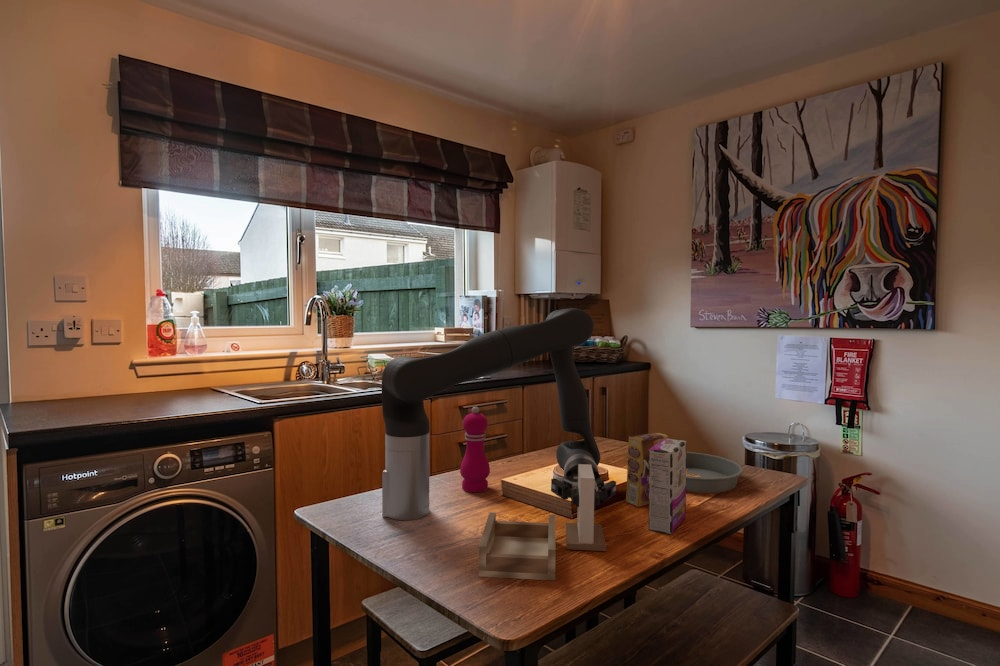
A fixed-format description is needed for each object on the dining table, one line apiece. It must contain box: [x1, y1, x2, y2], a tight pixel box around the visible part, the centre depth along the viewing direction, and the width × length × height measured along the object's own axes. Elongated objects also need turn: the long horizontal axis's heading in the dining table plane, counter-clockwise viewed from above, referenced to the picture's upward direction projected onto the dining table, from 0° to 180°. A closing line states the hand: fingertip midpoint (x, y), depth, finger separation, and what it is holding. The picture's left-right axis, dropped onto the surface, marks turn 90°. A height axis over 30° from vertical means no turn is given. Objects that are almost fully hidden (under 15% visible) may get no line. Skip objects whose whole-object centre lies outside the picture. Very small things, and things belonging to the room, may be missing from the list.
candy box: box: [625, 432, 669, 508], centre depth 127 cm, size 9×4×15 cm, turn 123°
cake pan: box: [686, 451, 745, 494], centre depth 145 cm, size 25×25×4 cm
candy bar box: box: [648, 438, 687, 535], centre depth 114 cm, size 11×5×16 cm, turn 148°
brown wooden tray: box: [478, 511, 557, 581], centre depth 98 cm, size 12×15×5 cm
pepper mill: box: [459, 406, 491, 493], centre depth 136 cm, size 7×7×20 cm
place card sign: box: [565, 464, 607, 552], centre depth 106 cm, size 7×10×13 cm
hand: (586, 501), depth 104 cm, fingers closed on place card sign, 2 cm apart
